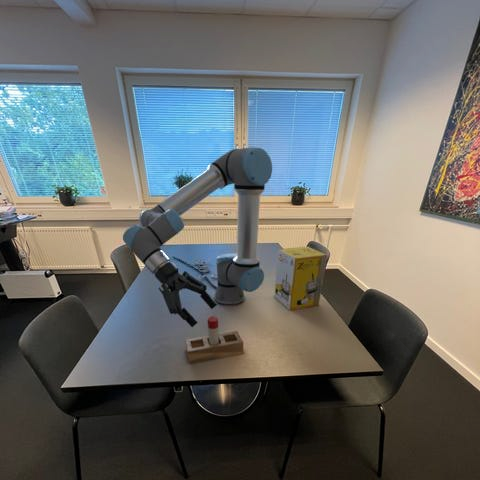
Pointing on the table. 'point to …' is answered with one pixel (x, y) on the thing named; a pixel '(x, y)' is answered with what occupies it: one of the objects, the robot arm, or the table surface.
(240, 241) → the robot arm
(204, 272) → the drone parts
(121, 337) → the table surface
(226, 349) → the pen holder
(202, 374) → the table surface
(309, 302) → the packaging box
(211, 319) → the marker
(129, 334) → the table surface
